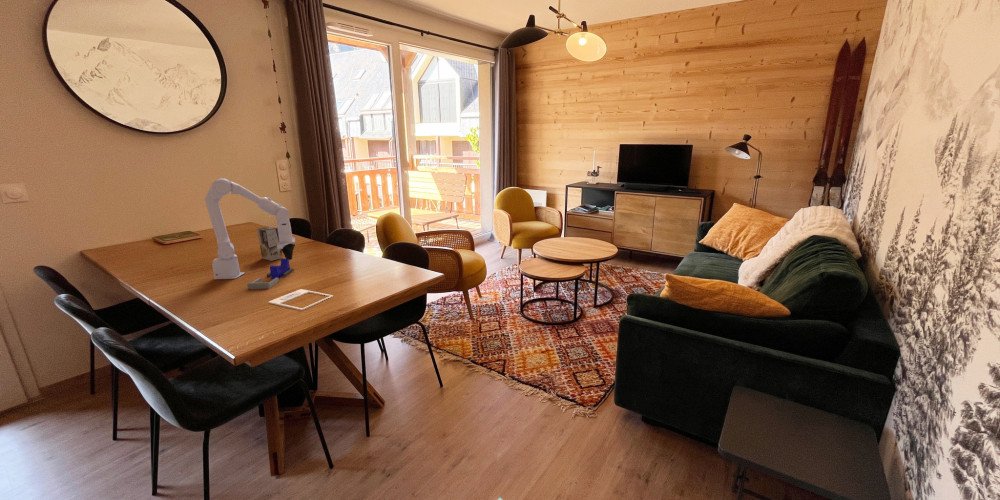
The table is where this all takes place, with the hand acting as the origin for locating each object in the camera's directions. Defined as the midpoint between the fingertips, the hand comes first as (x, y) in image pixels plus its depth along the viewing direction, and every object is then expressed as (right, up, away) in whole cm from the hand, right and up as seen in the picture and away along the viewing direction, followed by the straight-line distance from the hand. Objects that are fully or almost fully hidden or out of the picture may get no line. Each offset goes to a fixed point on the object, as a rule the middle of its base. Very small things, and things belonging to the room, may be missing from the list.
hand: (289, 259), depth 194 cm
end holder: (+1, -10, -23) cm, 25 cm away
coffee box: (-17, 0, +16) cm, 24 cm away
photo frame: (+25, -15, -39) cm, 49 cm away
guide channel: (0, -6, -9) cm, 11 cm away
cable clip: (+1, -7, -10) cm, 12 cm away
